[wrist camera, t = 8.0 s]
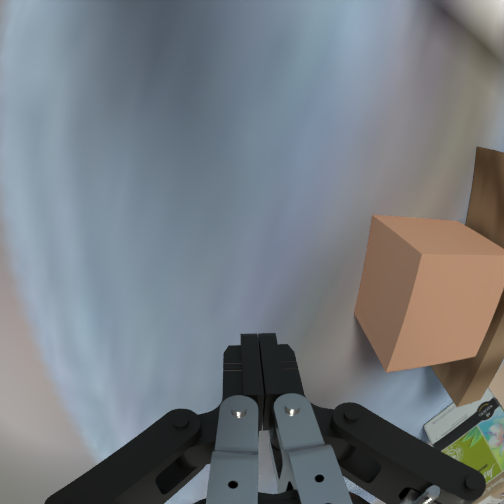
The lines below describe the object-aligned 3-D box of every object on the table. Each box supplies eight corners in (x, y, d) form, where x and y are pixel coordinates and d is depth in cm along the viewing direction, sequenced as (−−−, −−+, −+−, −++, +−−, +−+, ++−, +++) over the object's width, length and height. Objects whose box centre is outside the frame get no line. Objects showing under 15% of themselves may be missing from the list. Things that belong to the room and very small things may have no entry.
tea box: (419, 426, 32) (460, 517, 18) (481, 375, 30) (538, 459, 16) (451, 448, 37) (483, 515, 23) (499, 408, 34) (540, 472, 20)
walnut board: (476, 146, 19) (540, 162, 13) (500, 152, 19) (561, 170, 13) (424, 358, 27) (456, 407, 20) (447, 354, 27) (480, 399, 21)
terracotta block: (371, 214, 21) (421, 254, 15) (457, 220, 22) (513, 255, 15) (353, 313, 24) (385, 372, 18) (434, 308, 25) (475, 356, 18)
